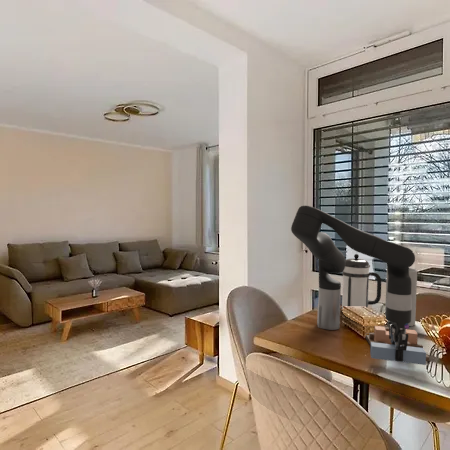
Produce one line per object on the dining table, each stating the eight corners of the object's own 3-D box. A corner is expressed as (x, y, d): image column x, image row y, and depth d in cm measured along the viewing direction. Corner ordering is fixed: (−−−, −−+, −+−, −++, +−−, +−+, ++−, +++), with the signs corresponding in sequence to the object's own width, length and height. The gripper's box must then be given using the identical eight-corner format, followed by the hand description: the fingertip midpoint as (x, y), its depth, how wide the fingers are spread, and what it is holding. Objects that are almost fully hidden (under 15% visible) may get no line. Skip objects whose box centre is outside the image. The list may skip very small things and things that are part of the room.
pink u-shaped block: (414, 344, 133) (415, 330, 133) (417, 349, 129) (417, 334, 129) (374, 339, 137) (374, 325, 137) (375, 344, 133) (375, 329, 133)
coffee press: (362, 320, 167) (364, 256, 166) (332, 312, 179) (334, 253, 178) (380, 314, 178) (383, 254, 177) (351, 307, 190) (353, 251, 189)
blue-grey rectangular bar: (371, 358, 118) (371, 346, 118) (370, 353, 122) (370, 341, 121) (425, 365, 113) (426, 352, 113) (422, 360, 117) (423, 348, 117)
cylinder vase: (396, 327, 157) (398, 271, 156) (379, 319, 169) (381, 267, 168) (421, 326, 160) (423, 271, 159) (402, 318, 172) (404, 266, 171)
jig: (376, 356, 125) (377, 341, 125) (365, 337, 145) (365, 324, 144) (429, 361, 122) (430, 346, 122) (410, 340, 141) (411, 327, 141)
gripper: (418, 313, 109) (416, 368, 110) (404, 301, 123) (402, 350, 124) (392, 311, 110) (390, 366, 111) (381, 300, 124) (379, 348, 125)
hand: (396, 357), depth 117 cm, fingers closed on blue-grey rectangular bar, 4 cm apart
